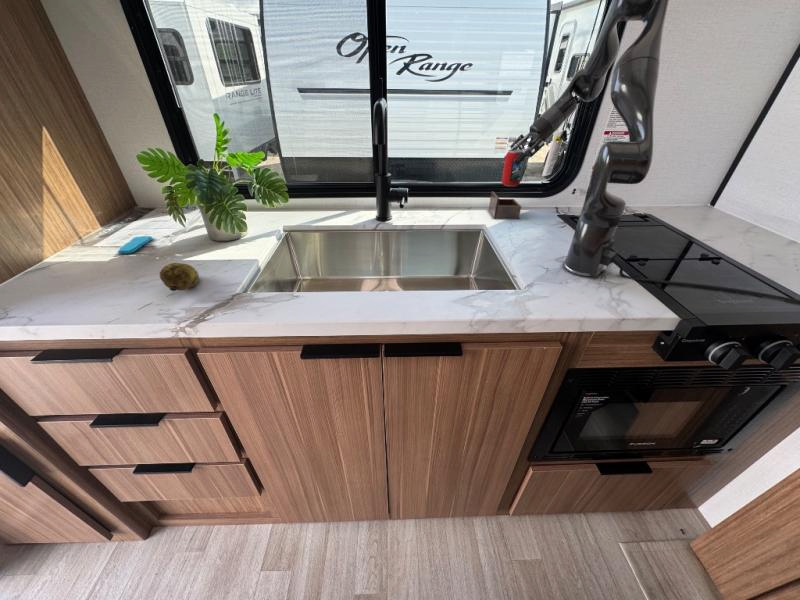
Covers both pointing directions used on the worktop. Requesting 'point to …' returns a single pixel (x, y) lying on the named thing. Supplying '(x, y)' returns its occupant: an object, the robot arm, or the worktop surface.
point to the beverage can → (512, 169)
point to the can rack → (503, 208)
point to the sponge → (134, 244)
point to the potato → (179, 276)
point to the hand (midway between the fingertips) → (510, 161)
